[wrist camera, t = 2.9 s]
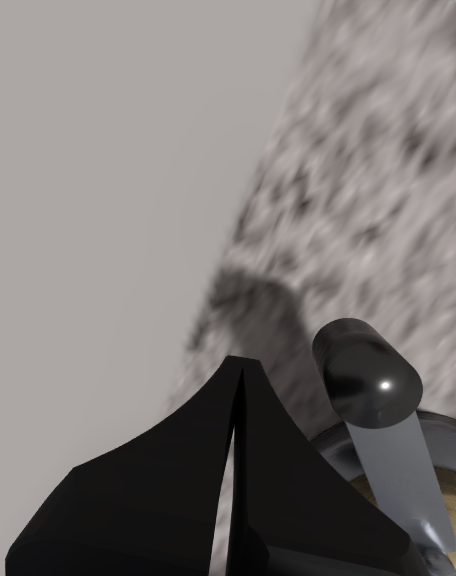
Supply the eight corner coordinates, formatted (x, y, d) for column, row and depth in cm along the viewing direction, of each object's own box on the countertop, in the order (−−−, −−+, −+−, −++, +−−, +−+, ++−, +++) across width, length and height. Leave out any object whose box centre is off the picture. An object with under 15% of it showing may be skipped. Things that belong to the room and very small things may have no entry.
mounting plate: (469, 592, 15) (492, 634, 14) (269, 549, 16) (270, 585, 15) (564, 434, 12) (609, 467, 11) (305, 392, 13) (312, 416, 11)
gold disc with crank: (532, 587, 13) (639, 732, 9) (347, 606, 14) (376, 732, 11) (456, 268, 9) (583, 302, 6) (224, 348, 11) (208, 411, 7)
